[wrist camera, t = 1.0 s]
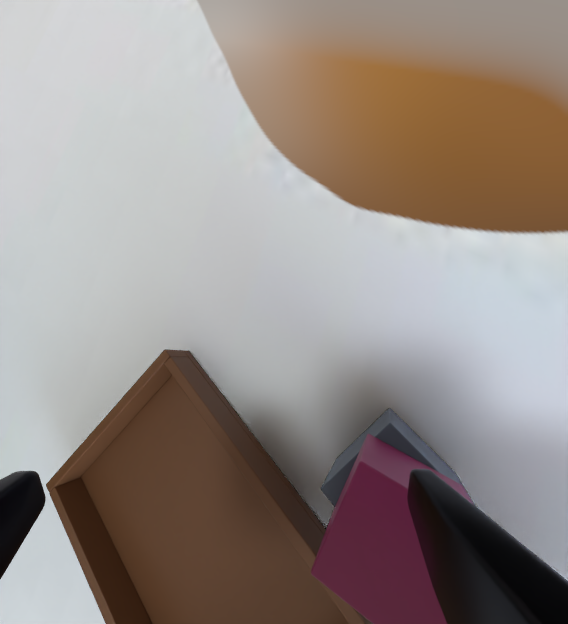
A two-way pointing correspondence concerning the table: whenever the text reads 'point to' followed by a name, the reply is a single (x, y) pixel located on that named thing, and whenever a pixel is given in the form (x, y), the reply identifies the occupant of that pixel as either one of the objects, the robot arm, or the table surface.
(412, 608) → the mulberry block
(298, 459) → the table surface
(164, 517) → the tray
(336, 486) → the slate block
